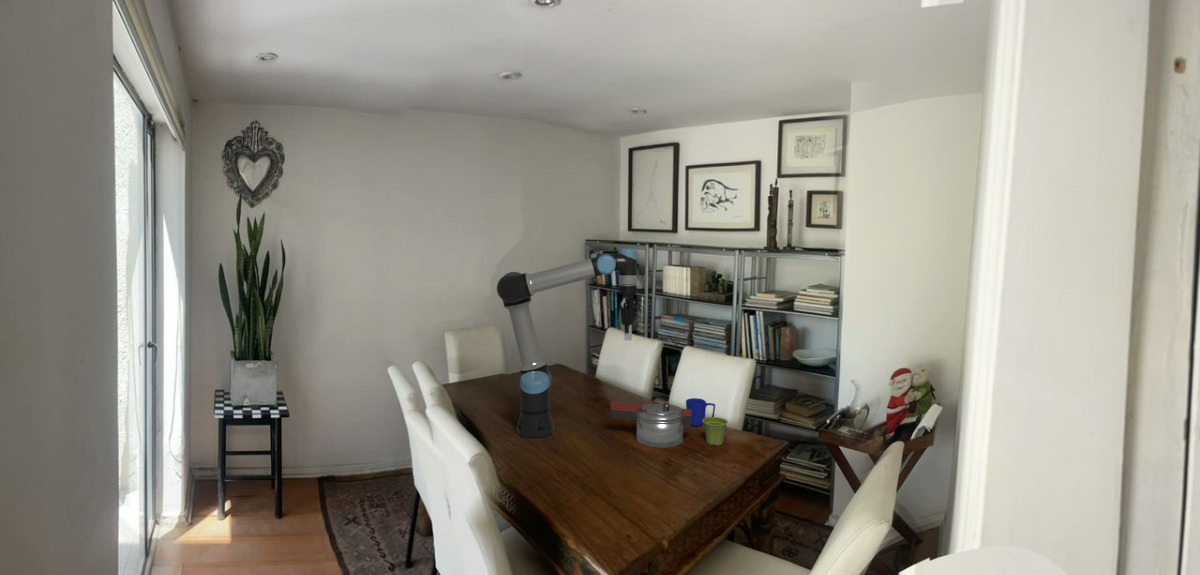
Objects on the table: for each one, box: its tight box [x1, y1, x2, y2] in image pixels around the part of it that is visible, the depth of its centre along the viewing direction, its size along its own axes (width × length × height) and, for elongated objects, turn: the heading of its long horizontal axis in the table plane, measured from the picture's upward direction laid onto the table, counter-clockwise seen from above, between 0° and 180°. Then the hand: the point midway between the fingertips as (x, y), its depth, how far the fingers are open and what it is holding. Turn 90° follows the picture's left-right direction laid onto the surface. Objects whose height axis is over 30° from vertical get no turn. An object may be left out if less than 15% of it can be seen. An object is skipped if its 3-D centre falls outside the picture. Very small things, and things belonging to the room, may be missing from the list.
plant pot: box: [703, 416, 728, 446], centre depth 220 cm, size 9×9×9 cm
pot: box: [610, 410, 692, 449], centre depth 226 cm, size 32×18×10 cm, turn 73°
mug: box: [685, 397, 716, 427], centre depth 241 cm, size 8×12×10 cm
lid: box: [610, 400, 692, 421], centre depth 225 cm, size 32×19×4 cm, turn 74°
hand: (627, 339), depth 245 cm, fingers closed
